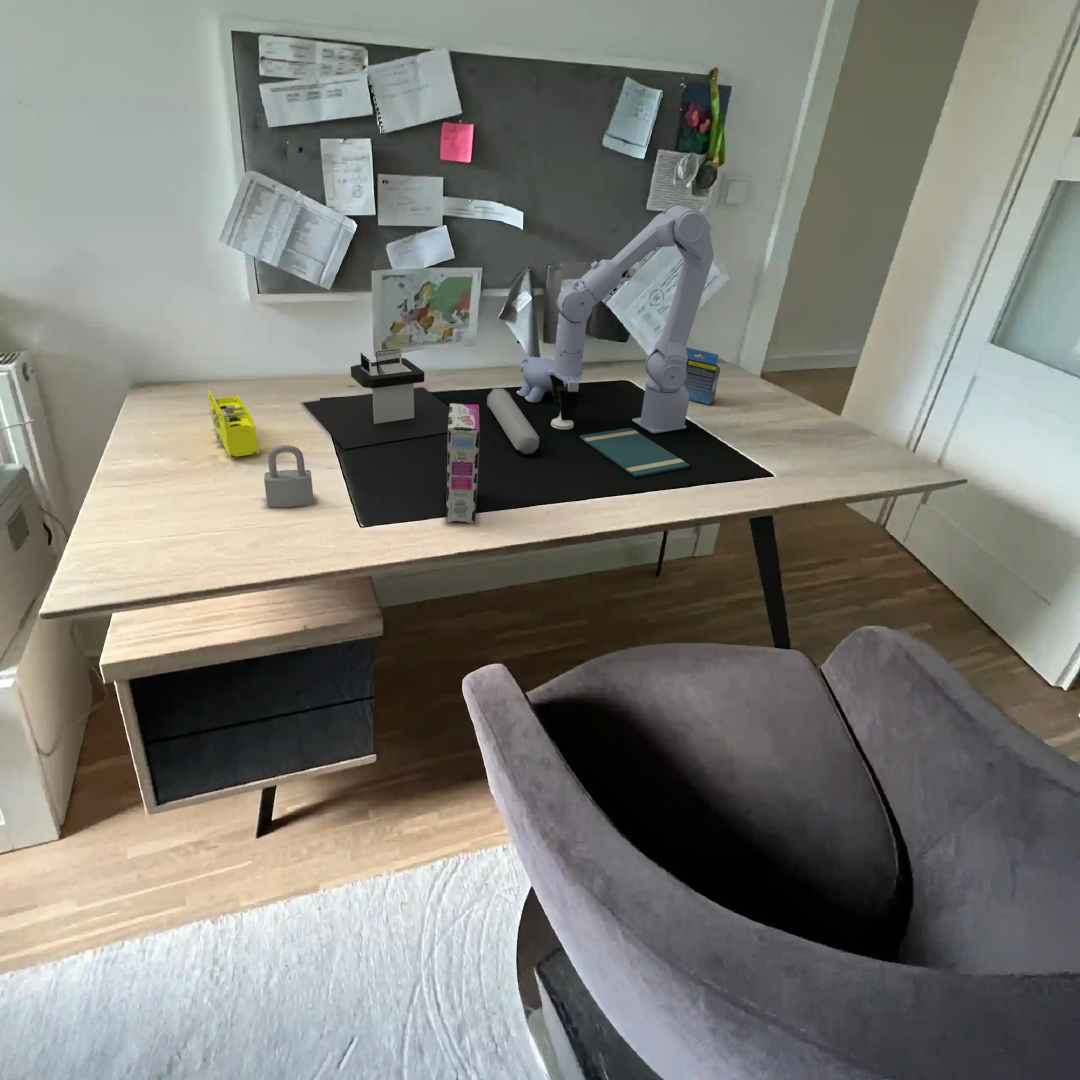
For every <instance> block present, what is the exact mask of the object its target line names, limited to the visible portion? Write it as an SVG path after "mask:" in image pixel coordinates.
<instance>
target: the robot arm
mask: <svg viewBox="0 0 1080 1080" xmlns="http://www.w3.org/2000/svg"><path fill="white" fill-rule="evenodd" d="M711 230H712V225H711V223H710V222H709V220H708V219H707V217H706V216H705V215H704V213H703V212H701V211H700V210H698V209H692V208H690V207H687V206H686V205H684V204H682V203H673V204H671V205H669V206H668V207H666V208H665V209H664V210H663V212H659V214H657V215H655V217H654V218H653V219H652V220H651V221H650V222H649V223H648V224H647V225H646V227H644V228H643V229H642V230H641V231H640V232H639V233H638V234H637V235H636V236H635V237H634V238H632V240H631V241H630V242H629V243H628V244H626V245H625V246H624V247H623V248H622V249H621V250H620V251H618V253H617V254H615V256H614V257H612V259H601V260H600V261H599V262H598V261H597V260H595V261H594V262H593V263H591V264H590V267H591V269H589V270H588V271H587V272H586V273H585V274H584V275H582V276H581V277H580V278H579V279H578V280H577V279H575V280H573V281H572V283H571V284H572V285H571V286H566V287H565V288H563V289H562V290H561V291H560V292H559V294H558V297H557V298H556V299H555V304H556V307H557V309H558V311H559V312H558V319H557V320H558V321H557V325H556V337H555V347H554V348H555V349H554V360H553V361H554V368H553V369H548V374H549V376H550V379H551V382H552V386H553V393H554V396H553V401H554V406H555V408H560V409H559V410H560V411H561V418H562V420H571V421H573V418H574V415H575V412H576V409H577V407H578V404H579V402H580V400H581V399H582V398H583V396H584V395H585V393H586V392H585V391H586V390H585V389H584V388H583V387H582V388H580V380H581V378H582V375H583V371H582V367H583V359H584V358H583V357H584V348H585V338H586V332H587V331H586V326H587V325H586V324H587V319H588V318H589V317H590V316H591V314H592V312H593V307H594V306H596V305H597V304H598V303H600V301H602V300H603V299H604V298H605V297H606V296H608V295H609V294H610V293H612V292H613V290H615V289H616V288H617V287H618V286H619V285H620V284H621V282H622V277H623V274H624V273H625V272H627V271H628V270H629V269H631V268H632V267H633V266H634V265H636V264H637V263H638V262H639V261H641V260H642V259H643V258H644V257H646V256H647V255H649V254H650V253H651V252H652V251H654V250H655V249H656V248H667V247H675V246H676V248H677V249H678V252H679V253H680V254H681V256H682V259H683V264H682V267H681V271H680V273H679V276H678V281H677V283H676V284H677V285H676V287H675V291H674V294H673V298H672V301H671V305H670V308H669V311H668V314H667V318H666V321H665V325H664V328H663V331H662V335H661V337H660V339H658V340H657V341H656V342H655V343H654V346H653V349H652V351H651V352H650V354H649V355H648V356H647V358H646V359H645V364H644V369H645V372H646V374H647V375H648V378H647V380H646V382H645V389H644V395H643V402H642V408H641V415H640V417H634V418H632V419H631V421H632V422H633V423H635V424H636V425H638V426H640V427H641V428H643V429H644V430H646V431H648V432H649V433H651V434H655V435H656V434H659V433H666V432H673V431H679V430H685V429H687V428H688V427H687V425H686V418H687V414H688V408H689V403H690V400H689V394H688V391H687V389H686V387H685V386H683V384H684V382H685V380H686V376H687V373H686V363H687V360H688V357H687V350H686V347H687V343H688V341H689V337H690V334H691V330H692V327H693V325H694V321H695V318H696V315H697V311H698V309H699V305H700V302H701V299H702V296H703V292H704V289H705V286H706V283H707V281H708V280H707V279H708V277H709V274H710V270H711V268H712V264H713V262H714V248H713V242H712V237H711ZM563 382H565V383H567V384H566V387H565V385H564V384H563ZM553 393H552V394H553Z"/></svg>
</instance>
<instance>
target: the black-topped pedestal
mask: <svg viewBox="0 0 1080 1080" xmlns="http://www.w3.org/2000/svg"><path fill="white" fill-rule="evenodd" d="M363 353H364V352H361V351H360V353H359V354H360V364H356V365H352V366H350V377H351V378H352V379H353V380H355V382H357V383H358V384H359V385H360V386H361V387H362V388H365V389H370V390H371V391H372V393H368V394H359V395H353V396H352V395H351V396H344V397H336V398H335V397H334V398H328V399H320V400H313V401H305V402H302V404H303V405H304V407H305V408H306V409H307V410H308V411H309V412H310V413H311V414H312V415H313V417H314V418H315V419H316V420H317V421H318V422H319V423H320V425H322V426H323V428H324V429H325V430H326V431H327V432H328V433H329V434H330V435H331V436H332V438H334V440H335V441H336V442H337V443H338V444H339V445H340V446H341V448H342V449H343V450H347V449H353V448H358V447H366V446H372V445H377V444H383V443H390V442H395V441H401V440H408V439H415V438H421V437H425V436H431V435H437V434H443V433H448V419H449V408H450V406H449V405H447V404H446V403H444V402H443V401H441V400H440V399H439V398H437V397H436V396H435V395H434V394H433V393H431V392H430V391H428V390H427V389H426V388H424V387H415V384H419V383H420V384H421V383H424V382H425V371H423V370H422V369H421V368H420V367H418V366H417V365H415V364H414V363H412V362H411V361H410V360H409V359H407V358H405V357H402V348H401V347H400V348H398V349H397V348H396V349H388V350H375V360H376V361H373V362H372V359H369V358H368V357H366V355H364V354H363ZM387 354H388V355H387ZM397 354H398V355H397ZM388 356H389V358H388Z"/></svg>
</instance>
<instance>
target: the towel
mask: <svg viewBox="0 0 1080 1080" xmlns="http://www.w3.org/2000/svg"><path fill="white" fill-rule="evenodd" d="M579 439H581V440H582V441H583V442H585V443H586V444H587V445H589V446H590V447H592V448H593V449H595V450H596V451H597V452H599V453H600V454H601V455H603V456H605V457H606V458H608V459H609V460H610V461H611V462H613V463H614V464H616V465H617V466H619V467H620V468H621V469H623V470H624V471H626V472H627V473H629V474H630V475H631V476H632V477H634V478H640V477H646V476H651V475H656V474H661V473H666V472H671V471H677V470H683V469H687V468H690V464H689V463H687V461H684V460H683V459H682V458H679V457H678V456H676V455H675V454H673V453H671V452H670V451H669V450H667V449H665V448H664V447H662V446H660V445H659V444H657V443H656V442H654V441H652V440H651V439H649V438H648V437H647V436H645V435H643V434H642V433H640V432H638V431H637V430H636V429H634V428H632V427H625V428H619V429H613V430H606V431H599V432H594V433H593V432H592V433H587V434H580V435H579Z"/></svg>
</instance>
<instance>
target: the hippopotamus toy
mask: <svg viewBox="0 0 1080 1080" xmlns="http://www.w3.org/2000/svg"><path fill="white" fill-rule="evenodd" d="M519 366H520V367H519V369H520V372H522V377H523V380H524V381H523V384H522V386H521V388H520V389H519V390H517V391H516V394H517V395H518V396H520V397H524V399H525V400H526V401H527V402H529V403H539V402H541V401H542V399H543V398H544V395H545V393H550V394H551V396H553V397H554V393H553V386H552V382H551V379H550V376H549V374H548V369H553V368H554V360H552V359H550V358H548V357H543V356H540V357H537V356H528V357H526V358H522V360H521V362H520V365H519Z"/></svg>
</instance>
